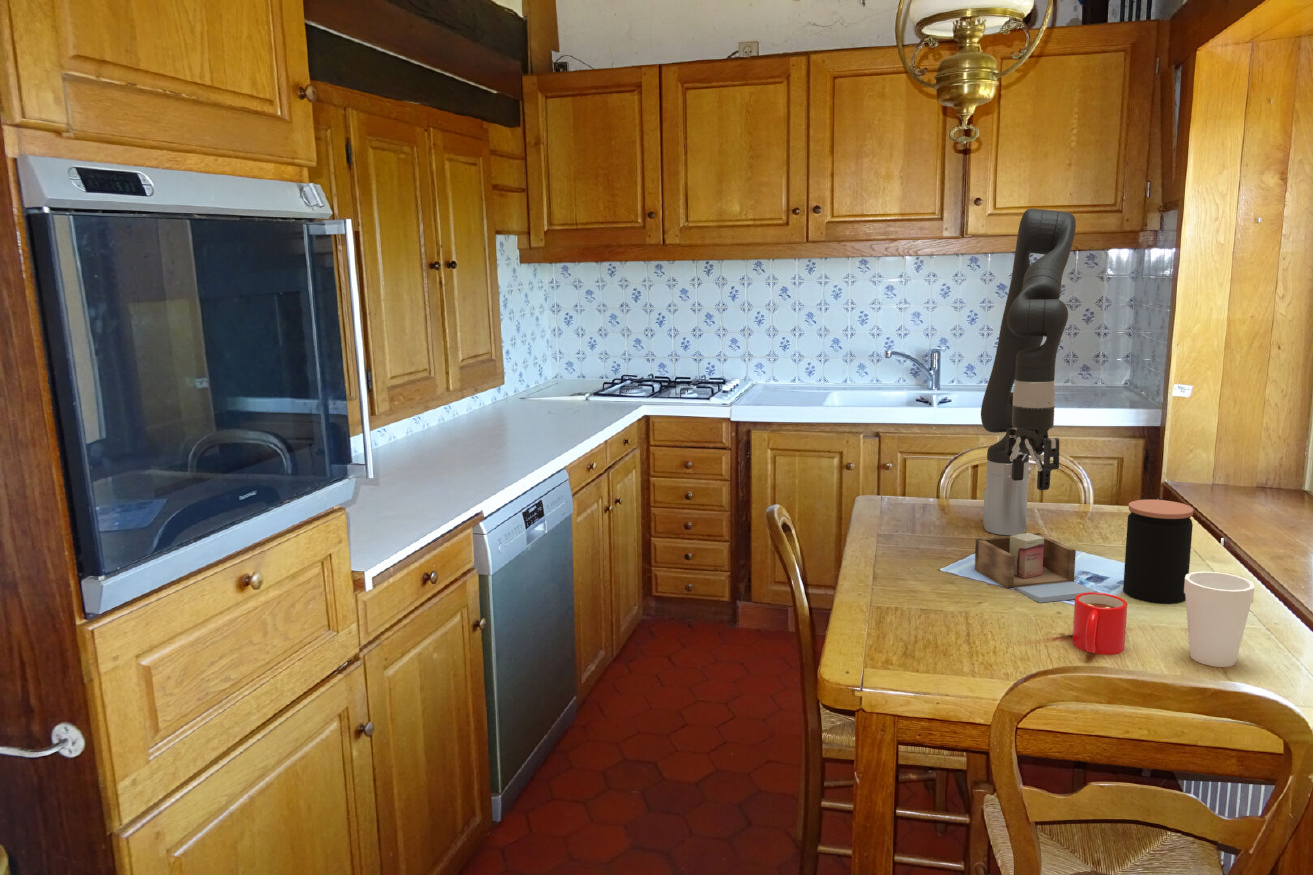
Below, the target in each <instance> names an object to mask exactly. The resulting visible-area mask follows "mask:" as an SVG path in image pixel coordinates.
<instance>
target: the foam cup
mask: <svg viewBox="0 0 1313 875" xmlns="http://www.w3.org/2000/svg"><path fill="white" fill-rule="evenodd" d="M1254 592H1255V583H1254V582H1252V581H1251V580H1249V579H1247V578H1245V577H1242V576H1239V575H1236V574H1230V573H1225V572H1219V571H1209V570H1208V571H1207V570H1206V571H1203V570H1202V571H1193V572H1189V574H1186V576H1185V583H1184V593H1185V597H1186V600H1185V608H1186V609H1185V610H1186V621H1187V622H1186V624H1187V635H1188V636H1187V638H1188V649H1189V656H1190V658H1191V659H1192V660H1193V659H1194V661H1196V662H1197V663H1200V664H1203V665H1205V666H1210V667H1217V668H1218V667H1219V668H1226V667H1227V668H1228V667H1232V666H1235V665H1236V661H1237V660H1238V656H1239V651H1240V648H1241V644H1242V640H1243V637H1244V632H1245V628H1246V625H1247V619H1248V616H1249V613H1250V609H1251V605H1252V604H1253V603H1254Z"/></svg>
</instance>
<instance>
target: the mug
mask: <svg viewBox="0 0 1313 875" xmlns="http://www.w3.org/2000/svg"><path fill="white" fill-rule="evenodd" d="M1073 607H1074V608H1073V626H1072V639H1071V640H1072V645H1073V646H1075V648H1077V649H1079V650H1081V651H1084V652H1087V653H1089V654H1095V655H1103V656H1104V655H1105V656H1107V655H1108V656H1110V655H1119V654H1121V653H1123V652H1124V651H1125V647H1126V646H1125V645H1126V632H1127V631H1126V630H1127V618H1128V617H1127V616H1128V602H1127V601H1126V600H1125V599H1124V598H1122V597H1119V596H1117V595H1113V594H1111V593H1110V594H1109V593H1106V592H1105V593H1104V592H1097V593H1096V592H1089V593H1081V594H1078V595H1077V596H1076V597H1075V599H1074V605H1073Z"/></svg>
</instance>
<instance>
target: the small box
mask: <svg viewBox="0 0 1313 875" xmlns="http://www.w3.org/2000/svg"><path fill="white" fill-rule="evenodd" d="M1034 534H1035V533H1030V532H1025V533H1023V534H1018V535H1009V536H1010V550H1009V553H1010V554H1012V555H1014V556H1015V562H1014V575H1016V576H1019V577H1022V578H1029V577H1034V576H1039V575H1042V570H1043V549H1044V538H1043V537H1040V536H1037V535H1034Z"/></svg>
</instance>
